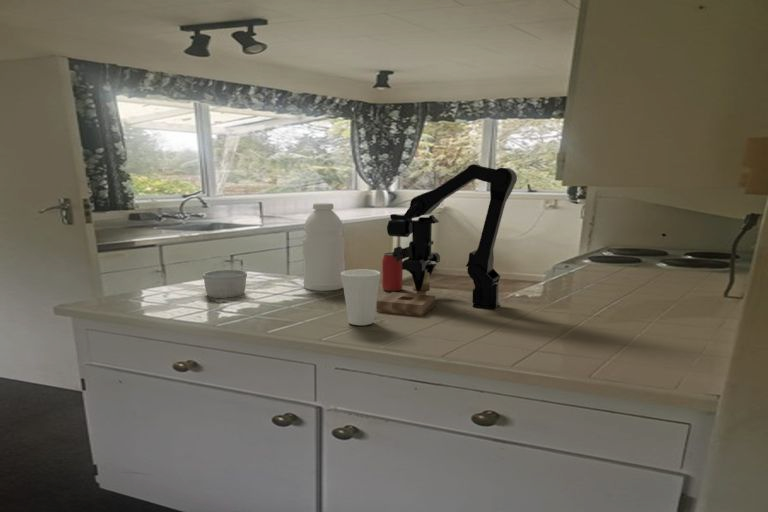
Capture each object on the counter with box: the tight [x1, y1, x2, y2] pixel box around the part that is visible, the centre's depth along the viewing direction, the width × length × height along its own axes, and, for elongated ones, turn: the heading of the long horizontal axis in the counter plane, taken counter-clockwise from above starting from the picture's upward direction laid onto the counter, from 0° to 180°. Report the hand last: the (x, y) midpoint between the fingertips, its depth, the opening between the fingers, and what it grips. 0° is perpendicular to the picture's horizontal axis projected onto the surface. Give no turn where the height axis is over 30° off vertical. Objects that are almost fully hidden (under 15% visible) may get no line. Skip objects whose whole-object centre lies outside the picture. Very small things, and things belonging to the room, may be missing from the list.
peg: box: [412, 272, 431, 295], centre depth 160 cm, size 5×5×8 cm
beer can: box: [381, 252, 404, 293], centre depth 173 cm, size 7×7×12 cm
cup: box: [341, 268, 382, 326], centre depth 133 cm, size 10×10×13 cm
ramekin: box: [202, 269, 248, 299], centre depth 166 cm, size 13×13×7 cm
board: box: [376, 291, 436, 317], centre depth 148 cm, size 13×12×3 cm
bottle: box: [302, 202, 346, 292], centre depth 176 cm, size 14×14×28 cm
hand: (421, 289), depth 160 cm, fingers closed on peg, 5 cm apart
